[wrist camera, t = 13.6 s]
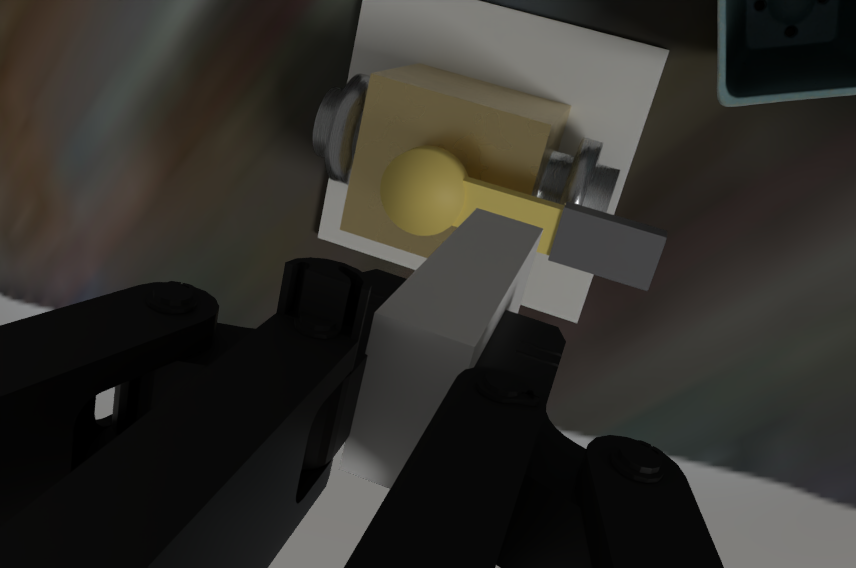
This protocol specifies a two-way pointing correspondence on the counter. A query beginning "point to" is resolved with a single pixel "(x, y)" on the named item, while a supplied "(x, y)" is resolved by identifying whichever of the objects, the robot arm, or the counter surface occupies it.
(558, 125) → the valve
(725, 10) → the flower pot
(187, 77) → the counter surface
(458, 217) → the lever
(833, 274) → the counter surface
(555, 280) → the mat
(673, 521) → the robot arm
